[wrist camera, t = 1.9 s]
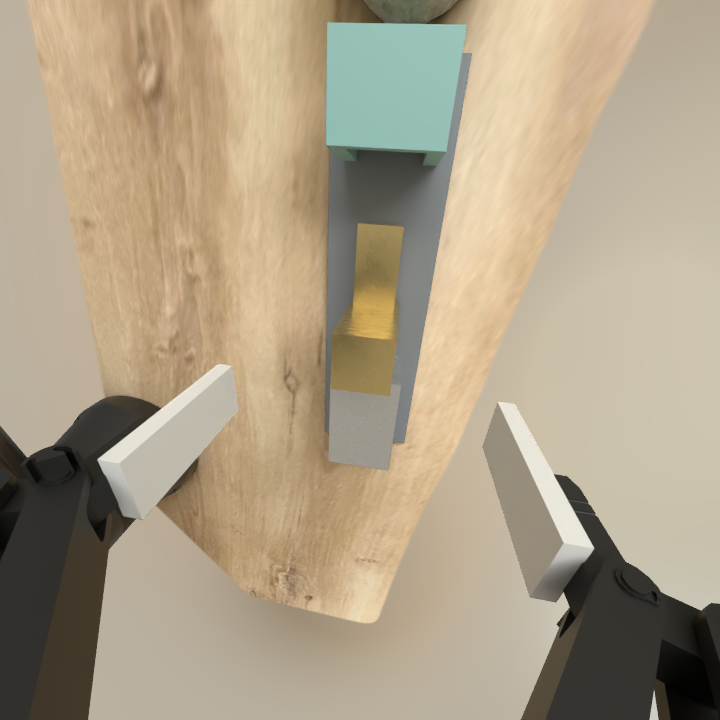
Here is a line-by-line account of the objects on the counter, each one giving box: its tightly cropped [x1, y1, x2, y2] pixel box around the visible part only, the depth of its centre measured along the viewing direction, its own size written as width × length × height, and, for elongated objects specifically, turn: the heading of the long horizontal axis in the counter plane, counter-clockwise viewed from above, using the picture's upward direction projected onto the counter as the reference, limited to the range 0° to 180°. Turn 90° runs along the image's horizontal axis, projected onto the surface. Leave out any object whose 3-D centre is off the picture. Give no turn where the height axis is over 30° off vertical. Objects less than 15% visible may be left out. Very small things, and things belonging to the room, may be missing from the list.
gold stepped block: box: [330, 222, 404, 396], centre depth 24 cm, size 4×20×9 cm, turn 176°
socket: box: [326, 23, 467, 166], centre depth 18 cm, size 7×5×6 cm
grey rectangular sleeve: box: [328, 357, 402, 470], centre depth 28 cm, size 6×10×5 cm, turn 176°
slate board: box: [325, 53, 472, 443], centre depth 26 cm, size 9×32×1 cm, turn 176°
